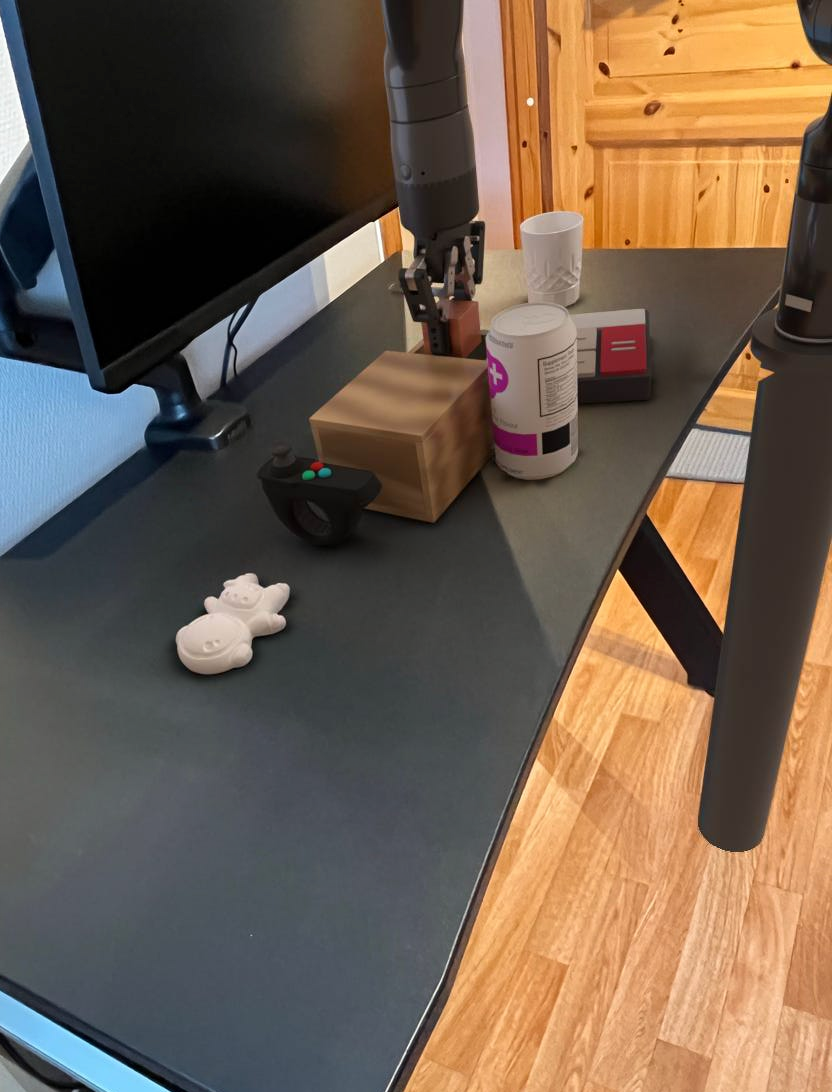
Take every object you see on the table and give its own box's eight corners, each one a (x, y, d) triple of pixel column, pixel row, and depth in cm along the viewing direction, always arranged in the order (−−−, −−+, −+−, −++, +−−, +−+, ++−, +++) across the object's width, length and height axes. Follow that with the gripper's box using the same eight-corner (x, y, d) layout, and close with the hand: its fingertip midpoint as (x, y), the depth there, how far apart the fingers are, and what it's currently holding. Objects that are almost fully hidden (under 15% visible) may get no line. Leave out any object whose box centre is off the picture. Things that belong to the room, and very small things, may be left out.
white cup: (556, 283, 121) (554, 207, 114) (596, 296, 115) (596, 217, 109) (511, 303, 119) (507, 227, 112) (550, 317, 113) (548, 238, 107)
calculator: (544, 376, 94) (552, 310, 104) (546, 411, 97) (553, 344, 107) (652, 369, 91) (649, 302, 101) (650, 405, 94) (647, 337, 104)
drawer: (453, 372, 105) (446, 309, 100) (542, 382, 99) (539, 315, 94) (377, 448, 95) (365, 382, 90) (471, 463, 89) (464, 394, 84)
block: (481, 342, 92) (478, 301, 89) (462, 361, 90) (458, 319, 87) (445, 338, 94) (440, 298, 91) (425, 357, 92) (420, 316, 89)
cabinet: (398, 430, 99) (385, 350, 92) (500, 445, 92) (493, 361, 86) (328, 500, 91) (308, 418, 84) (434, 523, 84) (421, 435, 78)
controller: (292, 517, 90) (269, 431, 83) (397, 538, 84) (381, 447, 77) (269, 542, 87) (243, 455, 80) (375, 565, 81) (356, 473, 75)
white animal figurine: (314, 602, 79) (306, 576, 77) (223, 687, 73) (213, 661, 71) (245, 576, 83) (237, 551, 81) (155, 654, 77) (143, 629, 75)
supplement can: (499, 488, 87) (487, 344, 77) (493, 445, 93) (481, 307, 83) (583, 477, 85) (582, 330, 75) (571, 434, 91) (569, 293, 82)
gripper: (432, 193, 74) (453, 379, 86) (505, 140, 82) (515, 317, 94) (359, 194, 78) (388, 372, 89) (436, 143, 86) (453, 312, 97)
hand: (453, 343), depth 91 cm, fingers closed on block, 4 cm apart
